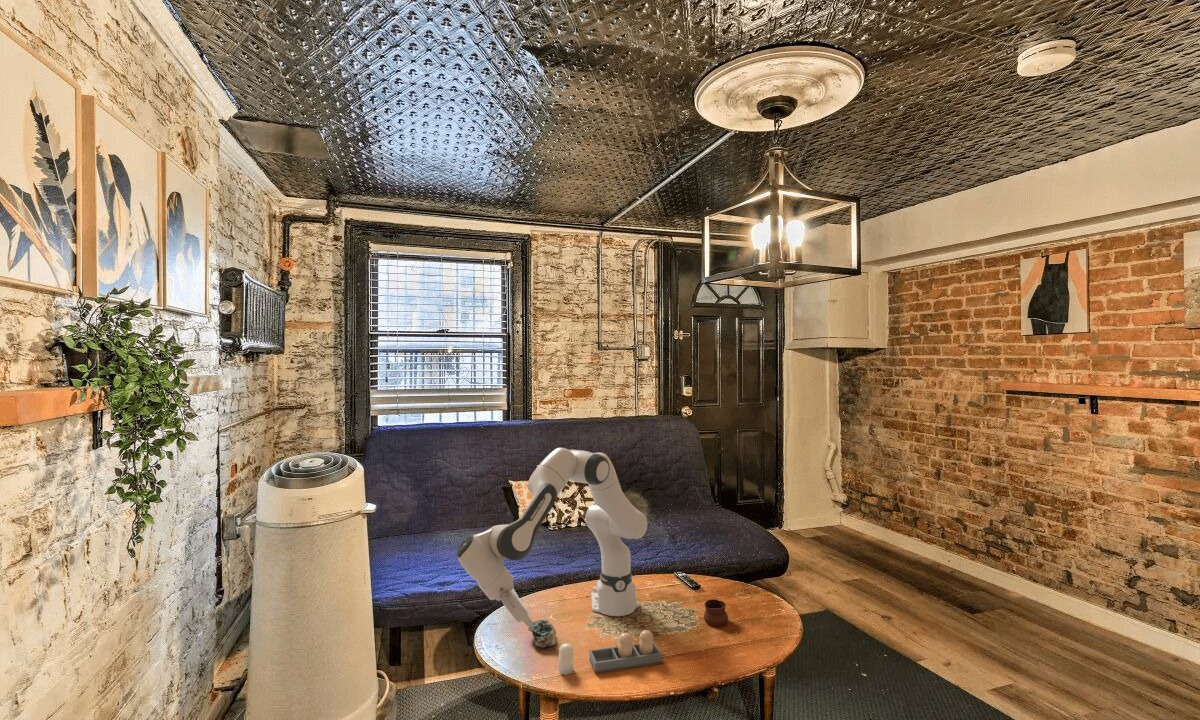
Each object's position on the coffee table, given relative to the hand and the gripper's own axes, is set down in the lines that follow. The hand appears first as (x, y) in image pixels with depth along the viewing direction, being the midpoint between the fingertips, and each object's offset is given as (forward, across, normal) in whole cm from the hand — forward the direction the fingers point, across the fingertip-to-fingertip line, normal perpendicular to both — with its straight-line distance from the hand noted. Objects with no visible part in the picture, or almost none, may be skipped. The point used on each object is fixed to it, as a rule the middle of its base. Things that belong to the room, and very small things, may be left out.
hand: (526, 617), depth 164 cm
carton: (+34, 0, -14) cm, 37 cm away
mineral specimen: (+21, +21, +2) cm, 30 cm away
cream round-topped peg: (+23, +3, +1) cm, 23 cm away
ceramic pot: (+58, +13, -47) cm, 76 cm away
